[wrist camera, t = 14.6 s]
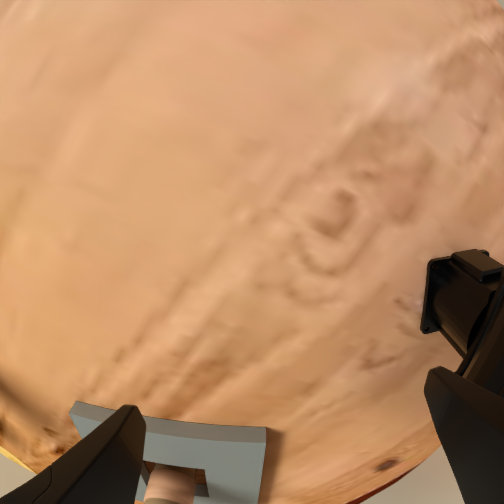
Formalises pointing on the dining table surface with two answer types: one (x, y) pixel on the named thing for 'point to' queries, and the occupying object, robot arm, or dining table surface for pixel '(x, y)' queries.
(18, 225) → the dining table surface
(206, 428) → the slotted shelf board
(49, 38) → the dining table surface
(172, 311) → the dining table surface
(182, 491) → the lidded jar
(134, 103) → the dining table surface
